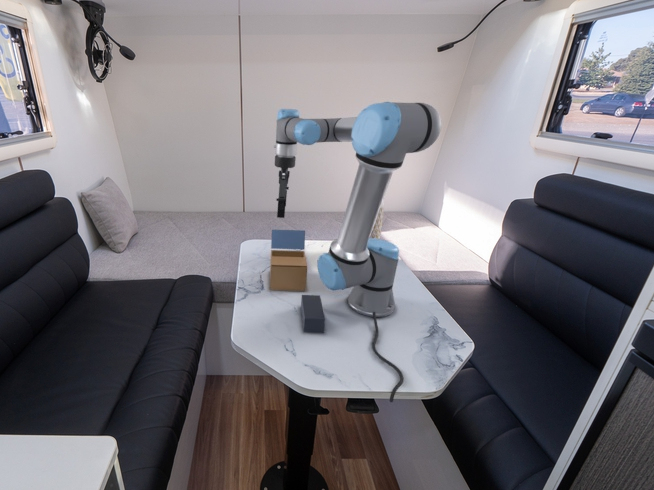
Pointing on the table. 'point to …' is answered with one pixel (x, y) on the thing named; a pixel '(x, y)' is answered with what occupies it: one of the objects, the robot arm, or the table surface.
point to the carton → (288, 270)
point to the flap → (288, 239)
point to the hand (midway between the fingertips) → (281, 211)
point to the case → (312, 314)
